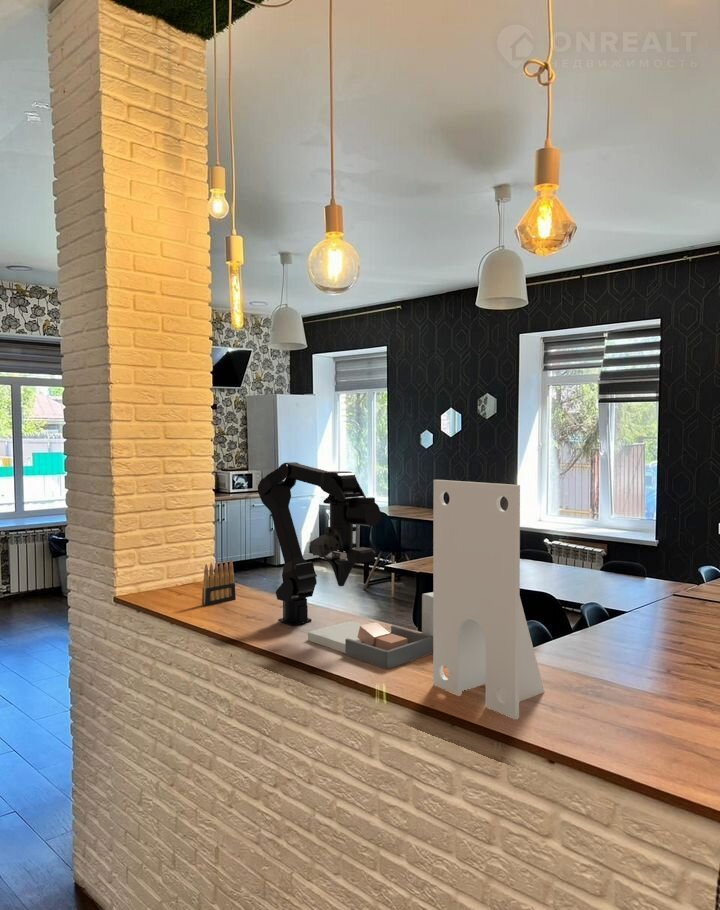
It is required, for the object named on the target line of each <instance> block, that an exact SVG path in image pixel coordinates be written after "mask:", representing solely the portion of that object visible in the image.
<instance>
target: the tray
mask: <svg viewBox="0 0 720 910" xmlns="http://www.w3.org/2000/svg"><path fill="white" fill-rule="evenodd" d="M390 632H391V634H395V635H398V636H401V637H404V638H407V644H406V645H403V646H400V647H397V648H394V649H391V650H388V651H387V650H383V649H380V648H377V647H374V646H371V645H367V644H364V643H361V642H358V641H355V640H352V639H345V653H344V654H345V656H348V657H351V658H353V659H356V660H360V661H363V662H365V663H368V664H371V665H373V666H377V667H379V668H383V669H386V670H389V669H391V668H395V667H397V666H400V665H403V664H406V663H408V662H412V661H414V659H415V660H417V659H420V658H423V657H426V656H428V655H431V654H432V655H433V636H430V635H427V634H423V633H422V632H419V631H416V630H411V629H407V628H405V627H401V626H397V625H390ZM425 655H426V656H425ZM422 656H423V657H422ZM411 660H412V661H411Z"/></svg>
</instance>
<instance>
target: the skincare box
mask: <svg viewBox="0 0 720 910" xmlns="http://www.w3.org/2000/svg"><path fill="white" fill-rule="evenodd" d="M421 633H423V634H427V635H430V636H433V591H432V592H426V593H422V594H421Z"/></svg>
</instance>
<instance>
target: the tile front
mask: <svg viewBox="0 0 720 910" xmlns="http://www.w3.org/2000/svg"><path fill="white" fill-rule="evenodd" d="M406 644H407V638H404V637H401V636H398V635H395V634H388V635H385V636H381V637H378V638H376V647H377V648H380V649H383V650H387V651H388V650H391V649H394V648H397V647H400V646H403V645H406Z"/></svg>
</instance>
